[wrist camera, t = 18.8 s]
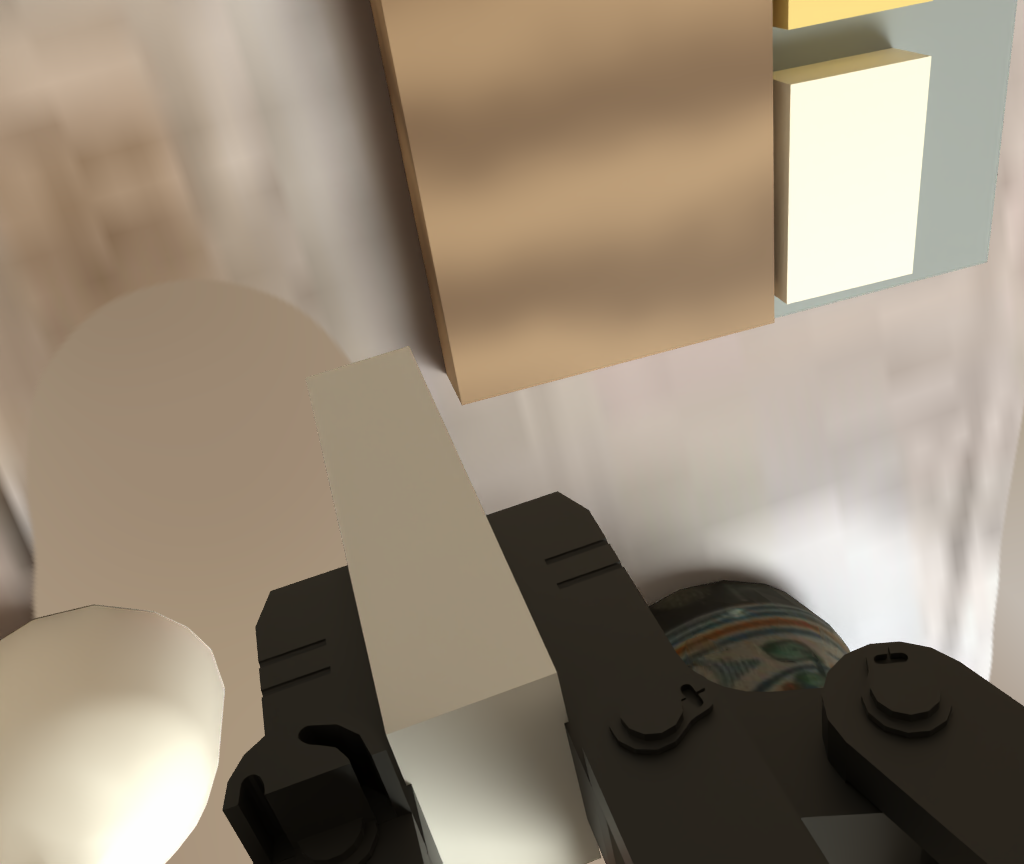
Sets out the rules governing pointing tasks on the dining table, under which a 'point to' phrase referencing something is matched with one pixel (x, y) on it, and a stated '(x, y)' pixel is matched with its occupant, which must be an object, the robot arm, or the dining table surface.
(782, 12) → the mustard tile
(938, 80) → the slate mat
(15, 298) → the dining table surface
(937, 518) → the dining table surface
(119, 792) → the teardrop
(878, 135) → the ivory tile
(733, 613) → the beer stein
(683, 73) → the walnut deck
